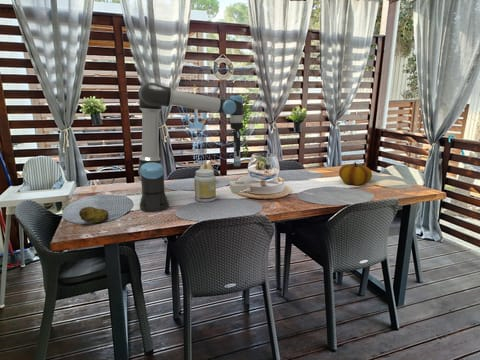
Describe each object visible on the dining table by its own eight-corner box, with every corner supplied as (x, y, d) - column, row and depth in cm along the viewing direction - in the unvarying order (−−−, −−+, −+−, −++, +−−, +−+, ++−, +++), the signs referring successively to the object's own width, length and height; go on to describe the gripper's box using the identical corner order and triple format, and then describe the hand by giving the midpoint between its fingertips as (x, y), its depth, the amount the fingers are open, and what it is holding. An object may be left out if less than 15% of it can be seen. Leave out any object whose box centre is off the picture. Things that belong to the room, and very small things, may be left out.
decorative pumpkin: (367, 189, 212) (370, 166, 208) (334, 184, 223) (335, 162, 219) (373, 182, 229) (376, 161, 225) (341, 177, 240) (343, 157, 236)
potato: (111, 222, 155) (109, 206, 153) (81, 227, 149) (79, 211, 147) (108, 216, 162) (106, 201, 160) (79, 221, 156) (77, 205, 154)
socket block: (251, 192, 204) (251, 185, 203) (232, 192, 202) (232, 185, 201) (247, 186, 215) (247, 180, 214) (229, 187, 213) (229, 180, 212)
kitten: (204, 179, 231) (204, 159, 227) (217, 181, 228) (217, 160, 224) (195, 185, 217) (194, 163, 213) (209, 186, 214) (208, 164, 210)
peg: (240, 166, 200) (240, 143, 196) (234, 166, 199) (234, 143, 196) (239, 164, 204) (239, 142, 200) (233, 164, 203) (233, 142, 199)
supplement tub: (220, 198, 191) (219, 170, 187) (206, 204, 182) (206, 174, 177) (204, 194, 198) (203, 167, 194) (190, 199, 188) (189, 171, 184)
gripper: (245, 123, 187) (245, 163, 193) (240, 120, 203) (241, 157, 209) (232, 123, 186) (232, 163, 192) (228, 121, 202) (229, 158, 208)
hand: (237, 160), depth 201 cm, fingers closed on peg, 4 cm apart
